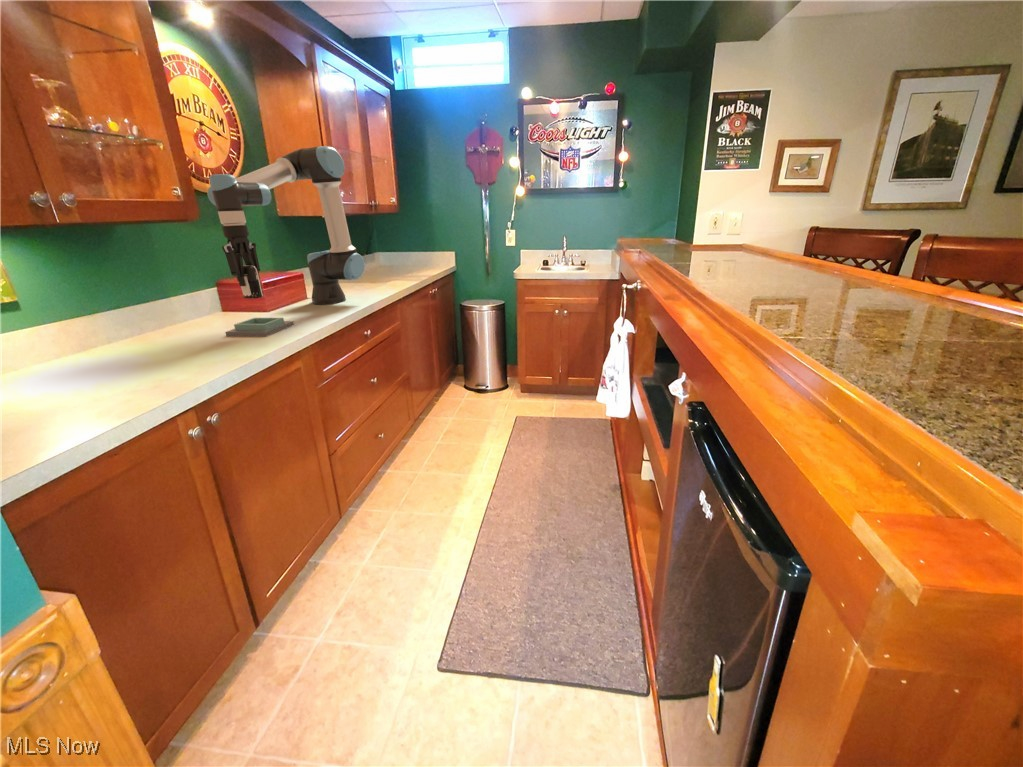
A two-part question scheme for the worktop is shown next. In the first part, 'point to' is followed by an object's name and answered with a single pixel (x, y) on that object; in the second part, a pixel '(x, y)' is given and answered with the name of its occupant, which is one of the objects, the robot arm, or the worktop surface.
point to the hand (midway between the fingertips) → (251, 293)
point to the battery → (253, 282)
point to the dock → (259, 327)
